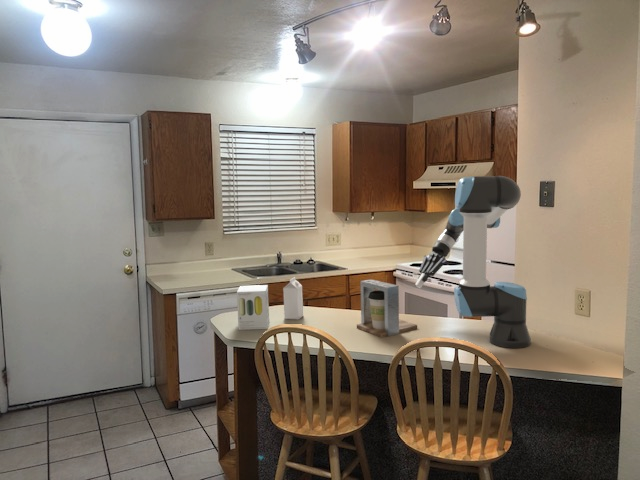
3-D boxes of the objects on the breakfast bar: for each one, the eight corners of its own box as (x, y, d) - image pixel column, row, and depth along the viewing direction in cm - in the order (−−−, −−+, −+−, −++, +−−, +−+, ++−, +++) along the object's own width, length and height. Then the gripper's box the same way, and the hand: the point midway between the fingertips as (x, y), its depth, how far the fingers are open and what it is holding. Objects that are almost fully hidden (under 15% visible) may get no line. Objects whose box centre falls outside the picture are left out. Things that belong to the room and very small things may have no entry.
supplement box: (237, 330, 225) (235, 291, 223) (241, 322, 238) (239, 285, 236) (267, 329, 226) (266, 290, 224) (269, 320, 239) (268, 284, 237)
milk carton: (284, 319, 241) (282, 279, 239) (289, 315, 248) (288, 276, 245) (298, 319, 239) (297, 280, 237) (303, 315, 246) (302, 277, 243)
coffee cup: (366, 329, 216) (365, 294, 214) (371, 323, 225) (371, 289, 223) (389, 331, 212) (388, 296, 210) (393, 324, 221) (393, 290, 220)
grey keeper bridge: (399, 333, 214) (398, 285, 211) (388, 336, 210) (387, 287, 208) (371, 324, 229) (371, 279, 226) (361, 326, 225) (360, 281, 223)
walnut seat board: (417, 328, 220) (417, 325, 220) (381, 337, 209) (381, 333, 209) (391, 319, 234) (391, 316, 234) (356, 327, 223) (356, 324, 223)
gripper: (458, 252, 231) (432, 293, 223) (436, 250, 242) (411, 289, 234) (450, 241, 227) (423, 283, 220) (428, 240, 238) (403, 279, 230)
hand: (417, 286), depth 227 cm, fingers closed
